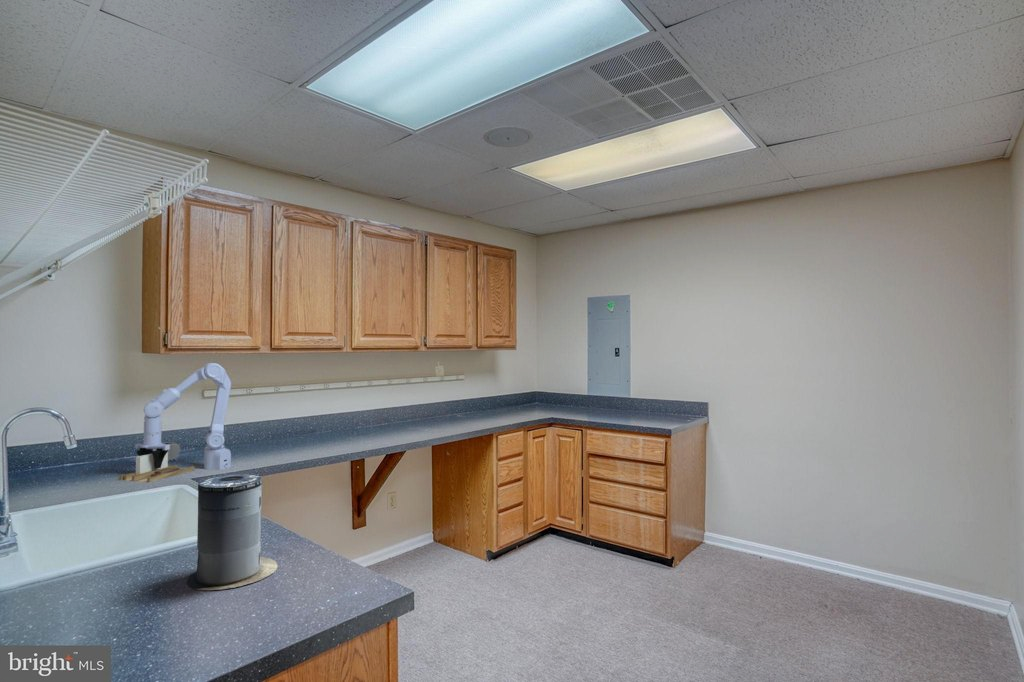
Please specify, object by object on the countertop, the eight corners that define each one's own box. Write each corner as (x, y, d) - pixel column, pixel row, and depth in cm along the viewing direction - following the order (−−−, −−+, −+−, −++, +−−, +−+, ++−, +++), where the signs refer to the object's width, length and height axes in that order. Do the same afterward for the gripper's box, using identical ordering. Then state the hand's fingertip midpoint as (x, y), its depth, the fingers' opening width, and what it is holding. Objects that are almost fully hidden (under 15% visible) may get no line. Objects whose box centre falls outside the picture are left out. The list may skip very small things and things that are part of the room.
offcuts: (180, 472, 207) (180, 467, 207) (158, 478, 197) (158, 473, 197) (172, 472, 208) (172, 467, 208) (149, 478, 198) (149, 472, 198)
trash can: (286, 554, 125) (285, 466, 125) (263, 587, 108) (262, 485, 108) (210, 560, 122) (209, 470, 123) (174, 595, 105) (173, 490, 105)
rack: (194, 472, 211) (194, 465, 211) (149, 484, 192) (149, 477, 192) (166, 470, 214) (166, 464, 215) (119, 482, 195) (119, 475, 195)
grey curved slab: (168, 458, 239) (175, 438, 239) (176, 462, 238) (183, 441, 238) (136, 466, 222) (143, 444, 222) (145, 470, 222) (153, 448, 221)
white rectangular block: (167, 471, 209) (167, 451, 210) (139, 478, 198) (140, 457, 198) (163, 471, 210) (163, 451, 210) (135, 477, 198) (135, 456, 198)
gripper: (128, 433, 202) (127, 469, 202) (158, 435, 199) (158, 471, 198) (144, 431, 209) (144, 465, 209) (174, 432, 205) (174, 467, 205)
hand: (152, 467), depth 204 cm, fingers open, 5 cm apart
